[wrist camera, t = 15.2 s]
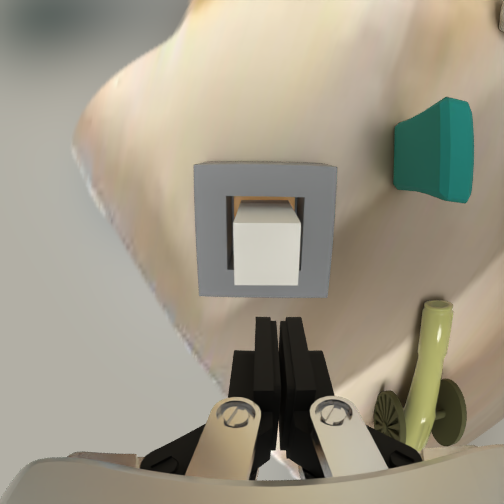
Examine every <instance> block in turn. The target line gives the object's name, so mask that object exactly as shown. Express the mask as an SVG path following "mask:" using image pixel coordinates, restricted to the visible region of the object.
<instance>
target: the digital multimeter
mask: <svg viewBox="0 0 504 504" xmlns="http://www.w3.org/2000/svg"><path fill="white" fill-rule="evenodd" d="M473 167H474V133H473V119H472V112H471V109H470V107H469V104H468V102H466V101H462V100H458V99H453V98H449V97H445V98H443V99H442V100H440V101H439V102H437V103H436V104H434V105H433V106H431V107H430V108H428V109H427V110H425V111H424V112H422V113H420V114H418V115H416V116H414V117H413V118H411V119H408V120H406V121H403V122H400V123H398V124H397V125H396V126H395V138H394V179H393V184H394V186H395V187H396V188H397V189H398V190H407V191H417V192H421V193H425V194H428V195H431V196H434V197H437V198H439V199H442V200H445V201H451V202H459V203H467V201H468V199H469V197H470V195H471V191H472V181H473Z"/></svg>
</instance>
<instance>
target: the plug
mask: <svg viewBox="0 0 504 504" xmlns="http://www.w3.org/2000/svg"><path fill="white" fill-rule="evenodd" d="M300 235H301V223H300V221H299V219H298V217H297V215H296V213H295V212H294V210H293V208H292V206H291V204H290V203H289V201H288V200H241V203H240V205H239V208H238V211H237V214H236V216H235V219H234V222H233V241H234V285H298V276H299V257H300Z"/></svg>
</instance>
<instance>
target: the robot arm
mask: <svg viewBox="0 0 504 504" xmlns="http://www.w3.org/2000/svg"><path fill="white" fill-rule="evenodd" d="M278 421H279V435H280V450H286V457H287V459H288V458H290V459H291V460H292V461H293V462H295V463H296V464H298V469H299V474H300V478H301V480H281V481H279V480H278V481H257V477H258V472H259V467H260V466H262V465H263V464H264V463H266V462H267V461H268V460H269V459H270V453H271V450H276V441H277V431H278ZM0 504H504V444H502V445H501V444H500V445H499V444H498V445H497V444H496V445H489V446H481V447H477V446H475V445H465V446H454V447H440V448H423V449H422V450H421V451H417V450H415V449H414V448H412V447H411V446H408V445H406V444H404V443H402V442H400V441H398V440H396V439H393V438H391V437H389V436H387V435H385V434H383V433H381V432H379V431H377V430H375V429H373V428H371V427H369V426H367V425H365V423H364V421H363V419H362V417H361V415H360V413H359V412H358V410H357V408H356V407H355V405H354V404H353V403H352V402H351V401H349V400H348V399H345V398H343V397H338V396H334V392H333V388H332V384H331V381H330V377H329V373H328V369H327V365H326V362H325V358H324V354H323V352H322V351H308V347H307V342H306V338H305V333H304V328H303V324H302V319H301V317H286V321H281V322H280V337H279V352H278V338H277V325H276V321H271V318H270V317H256V330H255V351H238V350H235V351H234V355H233V363H232V371H231V379H230V387H229V394H228V398H226V399H223V400H221V401H219V402H218V403H216V404H215V405H214V407H213V408H212V410H211V412H210V415H209V417H208V420H207V422H206V424H204V425H202V426H201V427H199V428H197V429H195V430H194V431H191V432H190V433H188V434H186V435H184V436H182V437H180V438H178V439H176V440H175V441H173V442H171V443H169V444H167V445H165V446H163V447H161V448H159V449H157V450H154V451H152V452H151V453H149V454H148V455H146V456H145V457H137V454H116V453H115V454H114V453H96V452H75V453H72V454H70V455H69V456H67V457H57V458H55V457H52V458H44V459H38V460H35V461H33V462H31V463H29V464H28V465H26V466H25V467H24V468H23V469H21V470H20V472H19V473H18V474H17V475H16V476H15V478H14V479H13V480H12V482H11V483H10V484H9V486H8V487H7V489H6V491H5V492H4V494H3V496H2V497H1V499H0Z"/></svg>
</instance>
